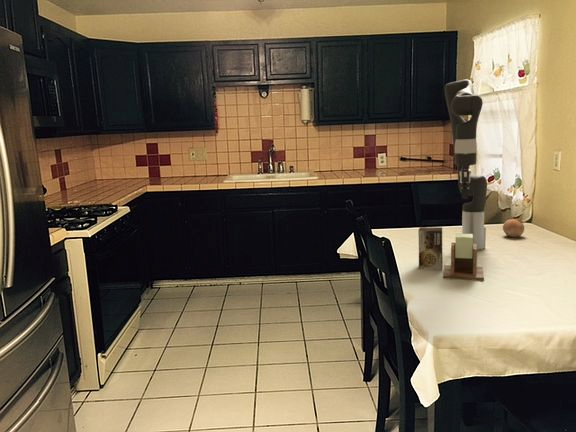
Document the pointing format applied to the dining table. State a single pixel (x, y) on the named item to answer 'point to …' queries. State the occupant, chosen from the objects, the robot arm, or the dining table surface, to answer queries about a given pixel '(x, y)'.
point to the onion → (513, 228)
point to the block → (464, 246)
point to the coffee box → (430, 248)
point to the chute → (463, 267)
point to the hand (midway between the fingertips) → (464, 197)
